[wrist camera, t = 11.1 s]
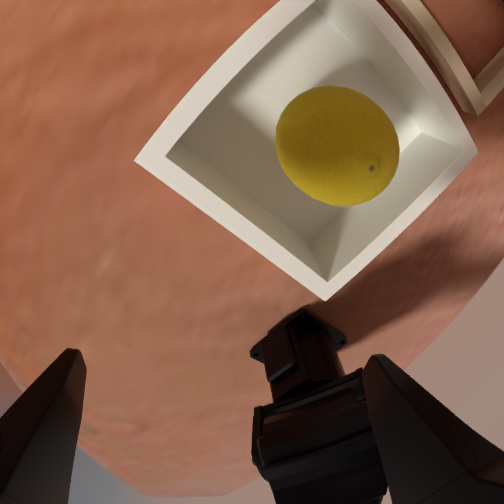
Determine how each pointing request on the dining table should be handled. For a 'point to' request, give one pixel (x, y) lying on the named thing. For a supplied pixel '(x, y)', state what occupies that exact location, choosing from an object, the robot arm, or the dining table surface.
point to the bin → (264, 128)
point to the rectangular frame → (451, 59)
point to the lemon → (337, 145)
